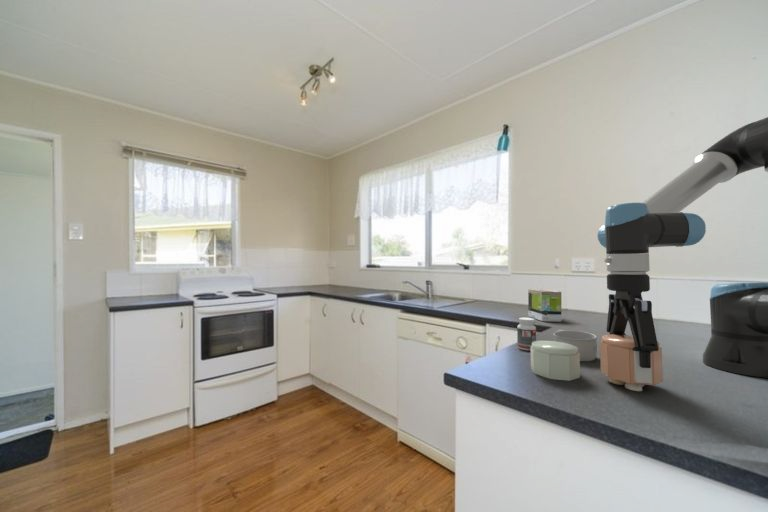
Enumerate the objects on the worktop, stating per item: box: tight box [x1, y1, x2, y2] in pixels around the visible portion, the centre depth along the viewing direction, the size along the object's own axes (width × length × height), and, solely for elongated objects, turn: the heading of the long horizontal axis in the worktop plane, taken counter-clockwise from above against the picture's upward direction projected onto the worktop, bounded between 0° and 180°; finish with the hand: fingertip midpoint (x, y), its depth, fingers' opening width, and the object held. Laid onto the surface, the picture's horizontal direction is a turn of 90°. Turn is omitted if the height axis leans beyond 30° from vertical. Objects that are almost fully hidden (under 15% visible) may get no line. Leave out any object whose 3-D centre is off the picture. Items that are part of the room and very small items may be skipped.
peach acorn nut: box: [599, 333, 664, 386], centre depth 69 cm, size 10×10×8 cm
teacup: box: [552, 329, 598, 362], centre depth 91 cm, size 14×11×8 cm
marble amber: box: [609, 378, 626, 386], centre depth 70 cm, size 3×3×3 cm
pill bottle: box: [516, 317, 537, 352], centre depth 103 cm, size 6×6×10 cm
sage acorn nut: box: [530, 340, 581, 382], centre depth 77 cm, size 10×10×8 cm
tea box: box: [527, 288, 563, 323], centre depth 158 cm, size 15×10×15 cm
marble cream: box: [624, 382, 643, 392], centre depth 67 cm, size 3×3×3 cm
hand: (630, 373), depth 69 cm, fingers closed on peach acorn nut, 10 cm apart
